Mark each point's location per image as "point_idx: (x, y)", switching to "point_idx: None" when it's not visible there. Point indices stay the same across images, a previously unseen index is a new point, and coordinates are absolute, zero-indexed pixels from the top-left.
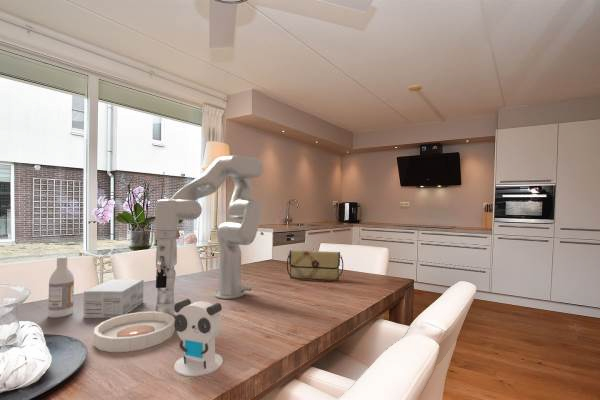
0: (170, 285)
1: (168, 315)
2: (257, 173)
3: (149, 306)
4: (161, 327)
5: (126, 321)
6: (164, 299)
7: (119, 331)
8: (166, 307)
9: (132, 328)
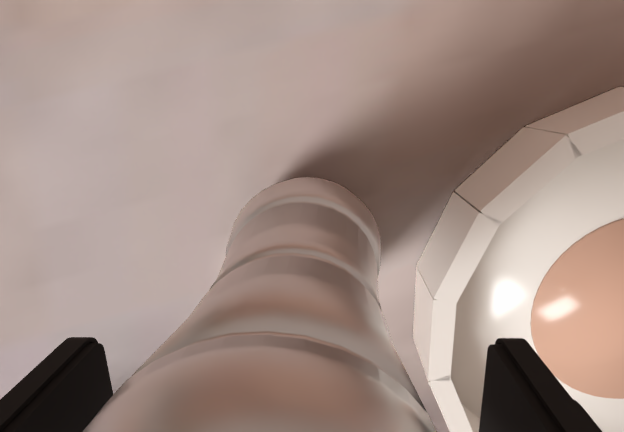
0: (364, 307)
1: (554, 170)
2: None
3: (114, 378)
4: (598, 184)
5: (468, 412)
6: (377, 284)
7: (610, 395)
8: (376, 236)
9: (582, 347)
